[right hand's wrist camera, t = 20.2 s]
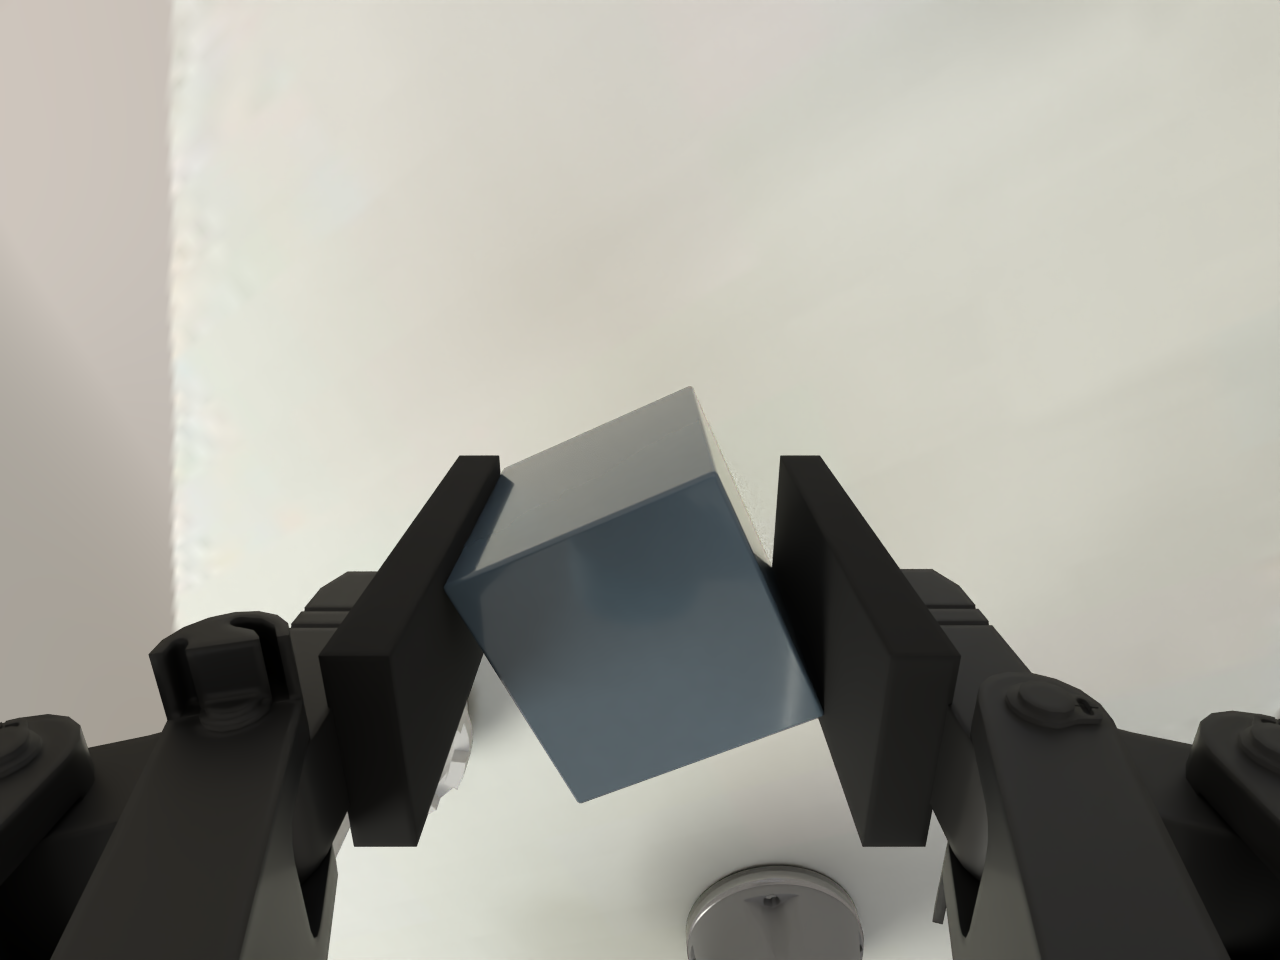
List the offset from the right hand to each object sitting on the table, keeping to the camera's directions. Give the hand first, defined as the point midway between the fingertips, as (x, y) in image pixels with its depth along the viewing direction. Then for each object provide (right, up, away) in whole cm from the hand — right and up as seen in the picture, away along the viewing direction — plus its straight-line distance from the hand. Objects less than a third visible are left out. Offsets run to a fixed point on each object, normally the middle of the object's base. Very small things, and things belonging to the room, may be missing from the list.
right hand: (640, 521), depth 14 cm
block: (0, 0, 0) cm, 0 cm away
